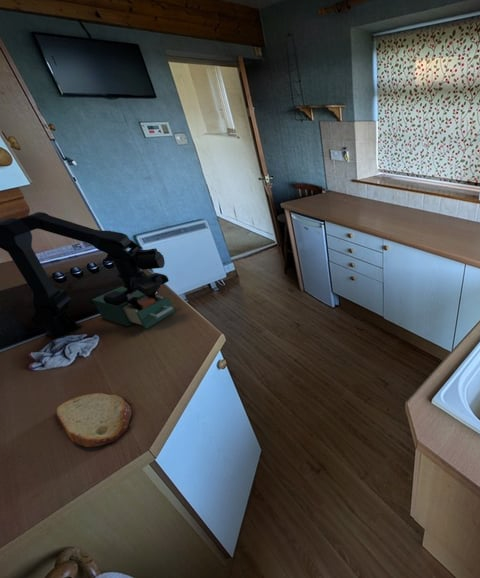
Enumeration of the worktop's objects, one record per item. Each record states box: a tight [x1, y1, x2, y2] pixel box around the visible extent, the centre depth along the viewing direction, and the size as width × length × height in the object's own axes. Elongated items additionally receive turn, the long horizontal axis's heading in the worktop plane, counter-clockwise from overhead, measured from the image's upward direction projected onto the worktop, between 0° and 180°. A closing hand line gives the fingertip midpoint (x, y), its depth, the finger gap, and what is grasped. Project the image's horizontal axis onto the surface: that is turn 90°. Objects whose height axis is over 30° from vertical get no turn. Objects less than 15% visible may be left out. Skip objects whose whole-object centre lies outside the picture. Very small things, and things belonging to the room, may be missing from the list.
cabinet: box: [91, 285, 146, 327], centre depth 111 cm, size 14×13×9 cm
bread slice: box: [56, 392, 132, 448], centre depth 72 cm, size 18×18×4 cm
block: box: [137, 296, 156, 309], centre depth 107 cm, size 4×4×4 cm
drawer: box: [122, 294, 176, 329], centre depth 108 cm, size 17×11×7 cm
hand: (147, 308), depth 108 cm, fingers closed on block, 4 cm apart
